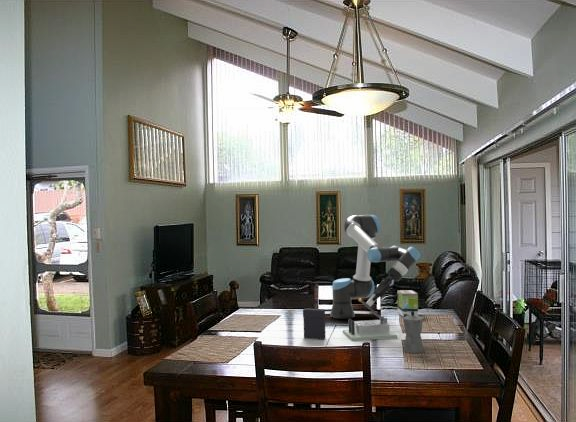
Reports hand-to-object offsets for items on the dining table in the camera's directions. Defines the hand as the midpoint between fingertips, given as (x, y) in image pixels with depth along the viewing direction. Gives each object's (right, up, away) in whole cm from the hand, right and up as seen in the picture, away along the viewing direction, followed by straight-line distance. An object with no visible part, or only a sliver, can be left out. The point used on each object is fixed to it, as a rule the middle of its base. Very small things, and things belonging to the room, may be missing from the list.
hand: (368, 304), depth 257 cm
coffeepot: (+16, -15, -30) cm, 37 cm away
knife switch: (0, -15, 0) cm, 14 cm away
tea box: (+34, -17, +52) cm, 64 cm away
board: (+1, -16, 0) cm, 16 cm away
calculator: (-28, -17, -4) cm, 33 cm away
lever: (+2, -4, 0) cm, 4 cm away
